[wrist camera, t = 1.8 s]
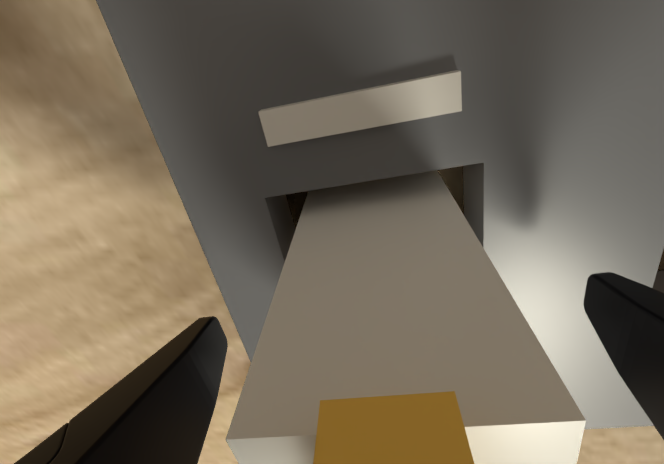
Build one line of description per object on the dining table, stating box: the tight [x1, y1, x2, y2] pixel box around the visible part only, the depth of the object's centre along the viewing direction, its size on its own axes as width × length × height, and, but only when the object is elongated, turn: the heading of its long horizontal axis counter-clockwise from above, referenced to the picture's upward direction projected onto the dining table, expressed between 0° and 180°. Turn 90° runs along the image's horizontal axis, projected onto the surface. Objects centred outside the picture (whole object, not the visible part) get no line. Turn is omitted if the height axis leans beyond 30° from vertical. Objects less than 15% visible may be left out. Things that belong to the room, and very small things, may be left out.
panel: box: [96, 0, 664, 429], centre depth 10 cm, size 20×16×2 cm
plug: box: [226, 170, 586, 464], centre depth 8 cm, size 4×5×9 cm
